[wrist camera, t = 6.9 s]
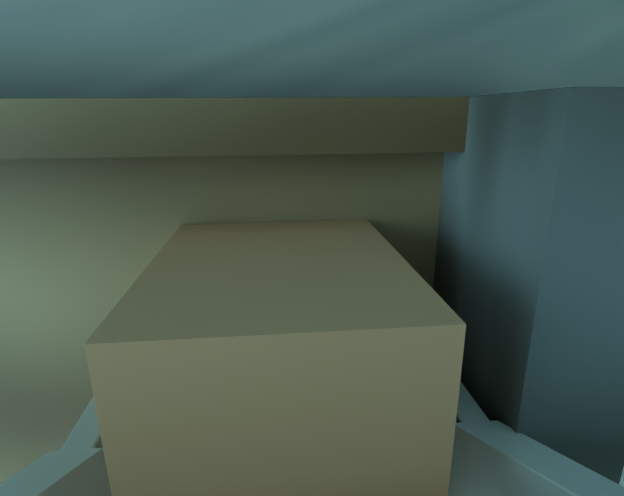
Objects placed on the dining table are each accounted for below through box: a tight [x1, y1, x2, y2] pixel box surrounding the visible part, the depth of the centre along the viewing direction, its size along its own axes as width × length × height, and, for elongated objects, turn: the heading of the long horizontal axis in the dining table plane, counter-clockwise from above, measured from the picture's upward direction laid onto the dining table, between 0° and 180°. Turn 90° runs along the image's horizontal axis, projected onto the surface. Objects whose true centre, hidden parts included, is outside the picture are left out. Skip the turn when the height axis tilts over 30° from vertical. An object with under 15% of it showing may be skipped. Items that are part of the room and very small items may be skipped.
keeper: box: [84, 220, 466, 496], centre depth 8 cm, size 7×4×5 cm, turn 0°
